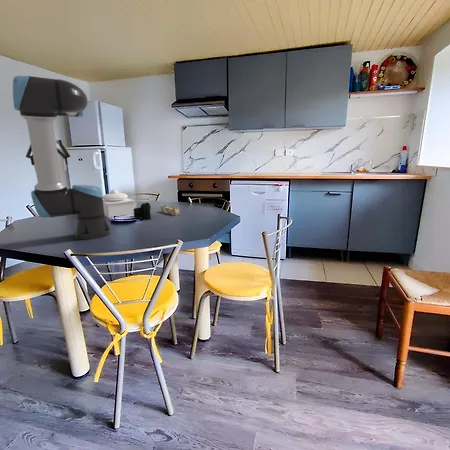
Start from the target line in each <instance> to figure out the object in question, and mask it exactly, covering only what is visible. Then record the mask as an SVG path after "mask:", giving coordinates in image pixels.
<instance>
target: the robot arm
mask: <svg viewBox="0 0 450 450" xmlns="http://www.w3.org/2000/svg"><path fill="white" fill-rule="evenodd" d="M12 98H13V99H12V100H13V108H14V110H15V111H19V114H20V117H21V118H22V119H24V120H25V121H26V124H27V125H26V126H27V130H28V135H29V136H28V137H29V141H30V145H29V146H28V150H27V152H26V155H25V158H27V159H30V164H31V165H32V166H33V168H34V172H35V174H36V179H37V180H36V181H37V183H36V184H35V186H33V187H34V188H33V189H34V190H31V192H30V195H31V199H32V203H33V206H34V209H35V212H36V213H37V215H38V216H39V217H40V218H43V219H44V218H45V219H47V218H58V217H68V216H76V226H75V230H74V238H75V239H77V240H95V239H101V238H105V237H108V236H110V235H111V234H112V232H111V228H110V225H109V223H108V221H107V220H106V219H107V218H106V217H105V214H104V206H103V200H104V199H103V196H104V195H103V193H102V192H103V191H102V188H101V187H99V186H96V185H90V184H89V185H88V184H73V185H72V187H71V188H68V187H67V184H66V183H65V182H63V179H62V173H61V166H60V159H59V155H60V156H61V157H62V159H61V161H62V170H63V171H67V165H68V158H70V157H71V155H70V154H69V151H68V150H67V149H66V147H65V146H64V144H63V142H62V141H63V140H62V139H58V140H56V133H55V125H54V121H55V120H56V119H57V118H58V117H74V118H82V117H83V116H84V110H85V109H86V108H87V106H88V97H87V94H86V93H85V92H84V91H83V89H82V88H80V87H79V86H78V85H76V84H74V83H72V82H70V81H68V80H64V79H60V78H59V79H58V78H57V79H55V78H49V77H40V76H31V75H16V76H14V77H13V79H12ZM57 145H58V146H59V147H60V148H61V150H60V148H58V146H57Z"/></svg>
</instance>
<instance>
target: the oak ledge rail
mask: <svg viewBox="0 0 450 450" xmlns="http://www.w3.org/2000/svg"><path fill="white" fill-rule="evenodd" d="M160 212H161V213H163V214H164V213H165V214H169V215H172V216H176V217H177V216H180V209H179V208H175V206H173V207H170V206H167V205H165V204H164V205H162V206H160Z"/></svg>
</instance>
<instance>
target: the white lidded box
mask: <svg viewBox="0 0 450 450" xmlns="http://www.w3.org/2000/svg"><path fill="white" fill-rule="evenodd" d="M102 196H103V206H104V214H105V218H106V219H107V218H108V219H110V218H111V217H112V218H115V217H114V216H118V215H126V216H129V215H128V214H131V215H134V209H135V208H137V205H136V200H135V199H131V198H128V197H129V196H128V194H126V193H124V192H123V193H122V192H119V191H118V189H115V188H113V189H111V190H110V193H107V194H104V195H102ZM112 218H111V219H112Z"/></svg>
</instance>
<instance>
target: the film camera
mask: <svg viewBox="0 0 450 450" xmlns="http://www.w3.org/2000/svg"><path fill="white" fill-rule="evenodd" d="M151 207H152V206H151V204H150V203H149V202H142V204H140V207H136V208H135V209H134V214H133V218H134V217H142V218H143V219H144V220H145V221H151V220H152V215H151V209H152V208H151ZM142 218H141V219H142Z"/></svg>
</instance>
